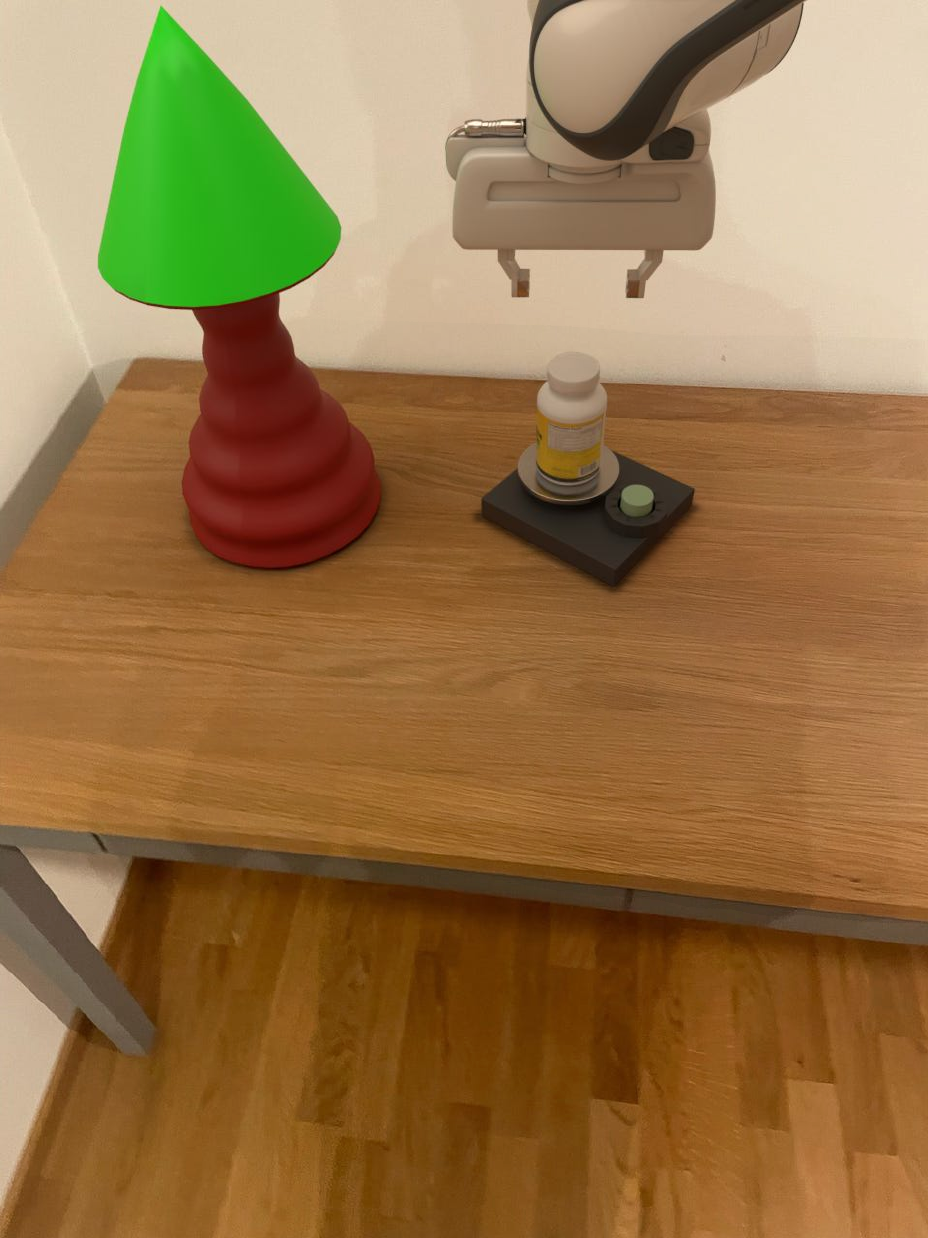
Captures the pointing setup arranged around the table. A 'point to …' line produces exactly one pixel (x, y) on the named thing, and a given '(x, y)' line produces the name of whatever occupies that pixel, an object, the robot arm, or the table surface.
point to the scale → (592, 520)
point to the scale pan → (567, 493)
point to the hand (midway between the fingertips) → (577, 294)
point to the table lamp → (235, 308)
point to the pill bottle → (571, 420)
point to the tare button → (636, 500)
